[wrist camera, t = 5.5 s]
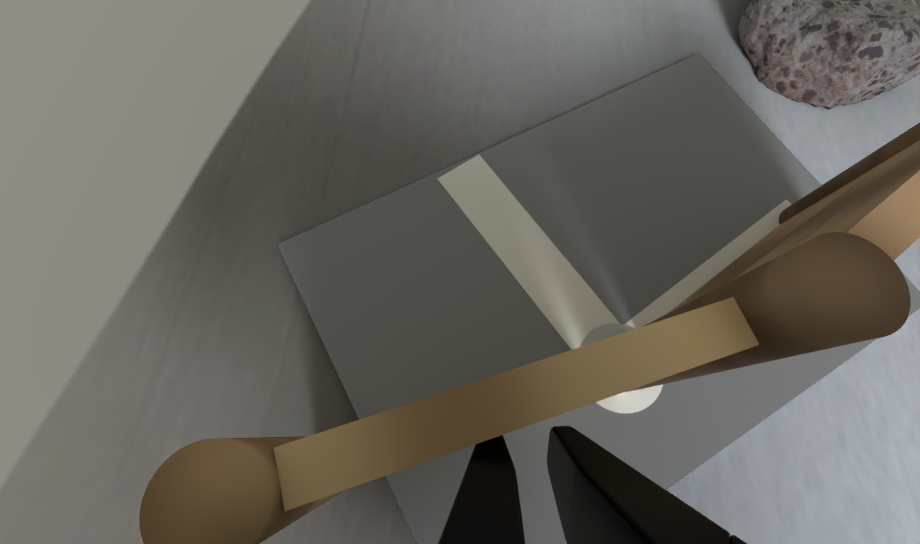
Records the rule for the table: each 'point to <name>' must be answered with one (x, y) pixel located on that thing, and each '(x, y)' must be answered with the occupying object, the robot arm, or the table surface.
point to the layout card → (562, 280)
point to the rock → (832, 47)
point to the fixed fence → (825, 265)
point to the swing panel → (413, 432)
